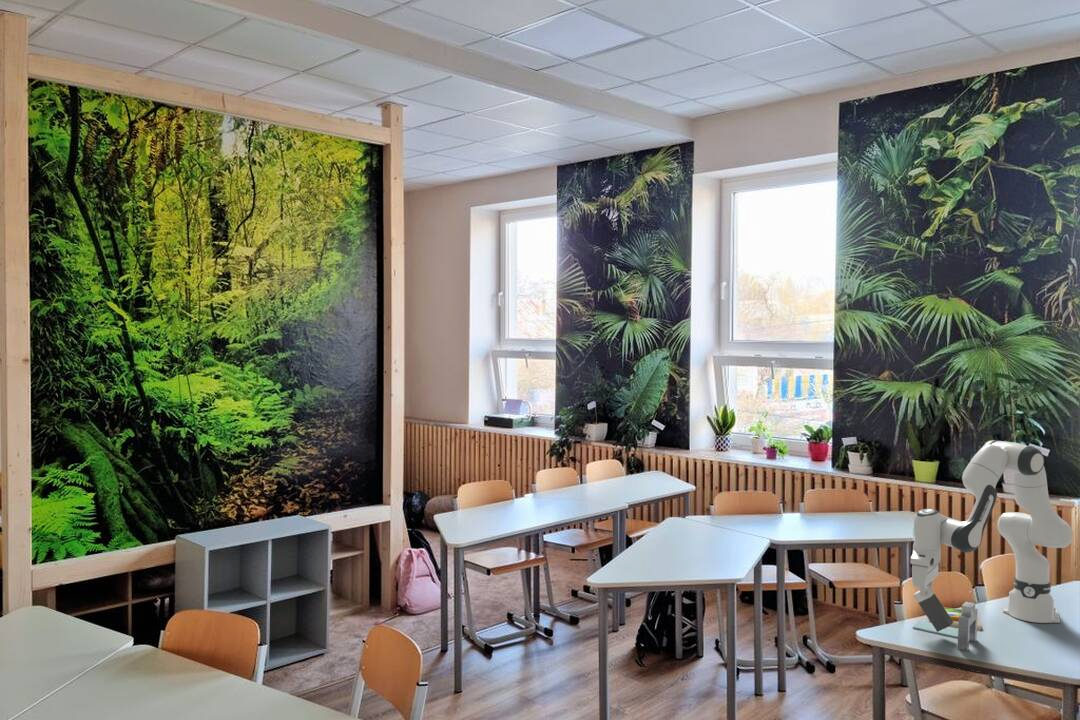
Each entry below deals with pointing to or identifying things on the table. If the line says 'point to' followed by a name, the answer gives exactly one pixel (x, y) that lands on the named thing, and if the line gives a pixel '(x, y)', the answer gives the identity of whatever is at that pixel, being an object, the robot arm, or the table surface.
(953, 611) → the wooden puzzle
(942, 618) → the plug
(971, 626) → the housing
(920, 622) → the mat
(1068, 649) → the table surface
